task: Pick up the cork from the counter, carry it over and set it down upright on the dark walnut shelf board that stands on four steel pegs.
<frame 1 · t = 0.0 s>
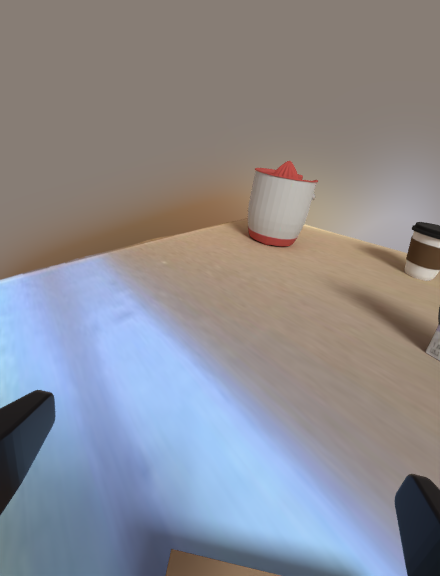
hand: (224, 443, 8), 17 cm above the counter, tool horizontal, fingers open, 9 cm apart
coffee cup: (417, 276, 81), on the counter
citrus juicer: (273, 240, 88), on the counter
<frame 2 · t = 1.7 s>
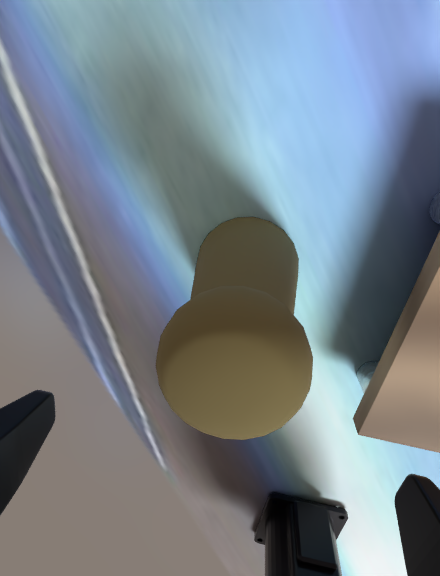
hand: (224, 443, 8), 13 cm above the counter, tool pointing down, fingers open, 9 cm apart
cork: (247, 266, 20), on the counter
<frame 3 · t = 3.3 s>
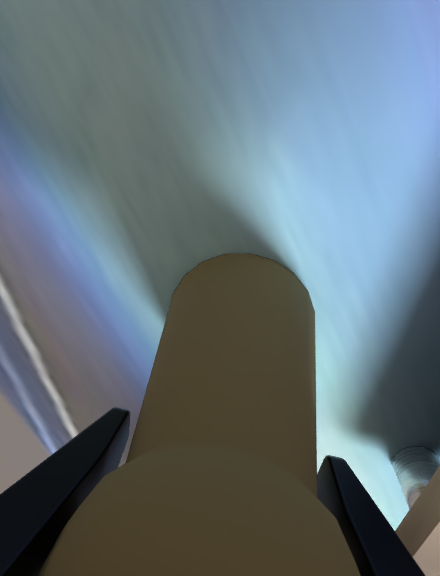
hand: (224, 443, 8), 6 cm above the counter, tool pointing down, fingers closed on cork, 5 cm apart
cork: (240, 319, 14), on the counter, touching gripper
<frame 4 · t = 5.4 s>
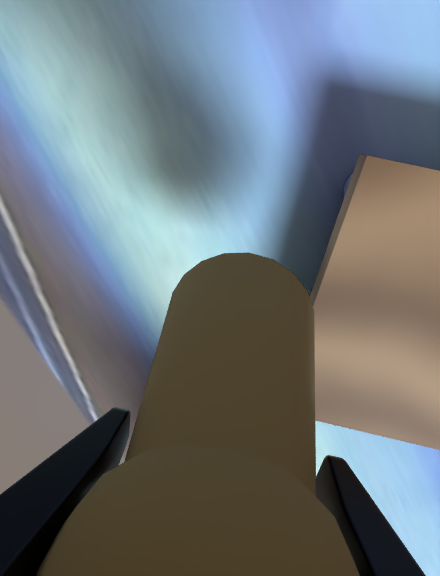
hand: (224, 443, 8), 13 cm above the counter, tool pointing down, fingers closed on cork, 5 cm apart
cork: (240, 319, 14), point 7 cm above the counter, touching gripper
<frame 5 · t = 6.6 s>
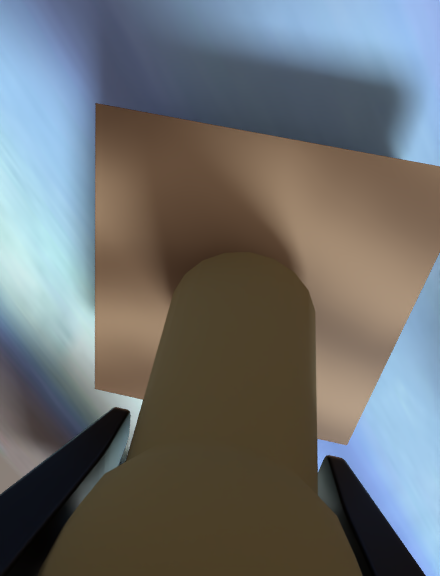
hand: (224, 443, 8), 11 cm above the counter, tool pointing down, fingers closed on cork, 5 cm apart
cork: (241, 318, 14), point 5 cm above the counter, touching gripper
shelf board: (244, 299, 15), on the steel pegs, point 3 cm above the counter
when the fingers open (11 cm above the counter, at t = 7.6 s): cork stays where it is, resting on shelf board.
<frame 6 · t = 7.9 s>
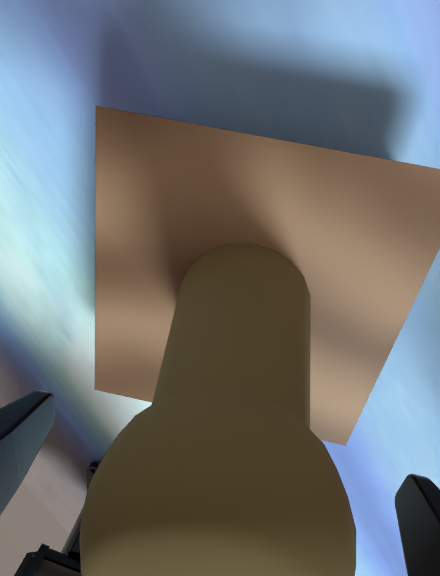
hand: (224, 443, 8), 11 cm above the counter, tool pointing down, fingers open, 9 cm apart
cork: (243, 304, 15), point 4 cm above the counter, touching shelf board
shelf board: (243, 300, 16), on the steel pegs, point 3 cm above the counter
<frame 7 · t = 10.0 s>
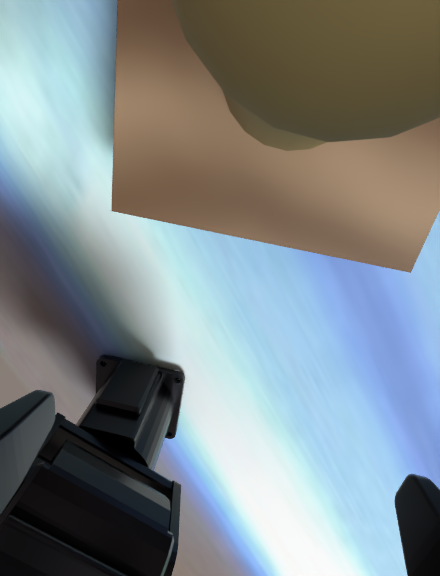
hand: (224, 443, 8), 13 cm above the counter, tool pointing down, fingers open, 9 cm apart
cork: (299, 63, 12), point 4 cm above the counter, touching shelf board
shelf board: (298, 64, 13), on the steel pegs, point 3 cm above the counter
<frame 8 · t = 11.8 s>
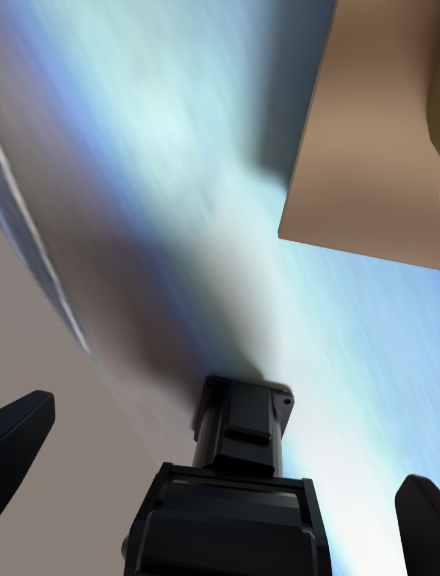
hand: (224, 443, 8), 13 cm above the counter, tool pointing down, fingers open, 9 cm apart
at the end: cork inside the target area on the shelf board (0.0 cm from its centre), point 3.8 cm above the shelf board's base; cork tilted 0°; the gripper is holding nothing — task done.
